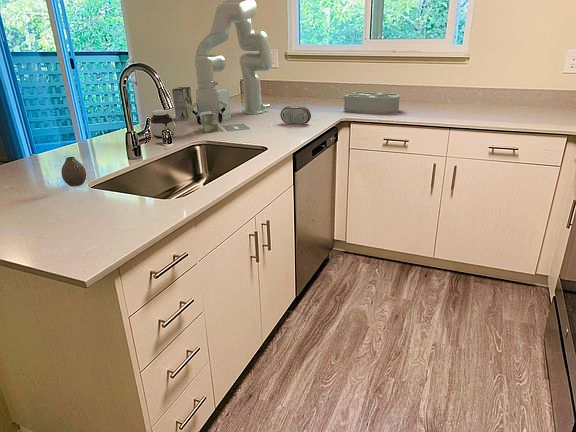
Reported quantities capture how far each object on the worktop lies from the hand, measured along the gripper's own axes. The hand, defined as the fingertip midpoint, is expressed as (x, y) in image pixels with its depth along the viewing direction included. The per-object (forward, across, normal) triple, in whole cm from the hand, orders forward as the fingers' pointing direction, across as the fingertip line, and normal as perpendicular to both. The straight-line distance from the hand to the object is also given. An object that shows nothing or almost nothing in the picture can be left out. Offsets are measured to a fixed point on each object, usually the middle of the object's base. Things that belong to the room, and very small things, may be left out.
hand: (210, 123), depth 203 cm
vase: (+4, +54, +57) cm, 79 cm away
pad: (+3, 0, 0) cm, 3 cm away
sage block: (+3, 0, 0) cm, 3 cm away
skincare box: (+4, -10, -22) cm, 24 cm away
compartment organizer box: (+4, -92, -9) cm, 92 cm away
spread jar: (+4, +21, 0) cm, 21 cm away
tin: (+4, -41, +4) cm, 41 cm away
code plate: (+3, -12, 0) cm, 12 cm away
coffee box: (+4, +7, -36) cm, 37 cm away
